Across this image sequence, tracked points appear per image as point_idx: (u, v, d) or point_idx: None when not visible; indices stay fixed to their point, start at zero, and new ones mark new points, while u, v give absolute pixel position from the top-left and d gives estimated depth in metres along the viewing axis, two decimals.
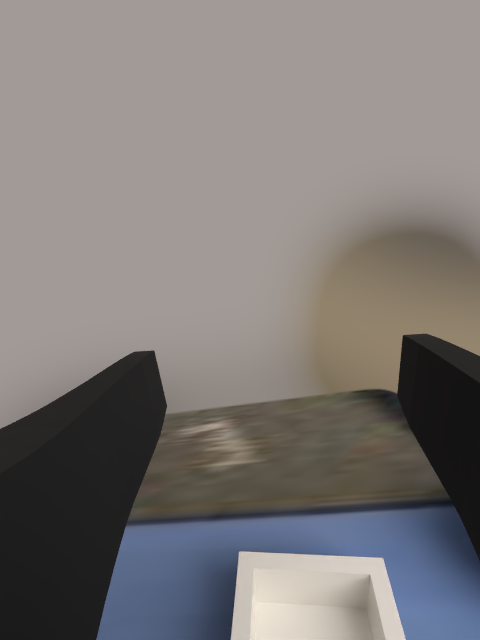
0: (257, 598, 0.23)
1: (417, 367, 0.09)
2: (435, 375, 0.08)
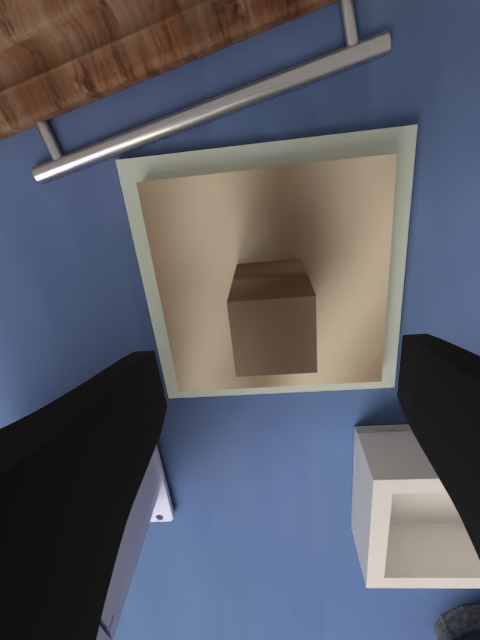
0: None
1: (417, 367, 0.09)
2: (435, 375, 0.08)
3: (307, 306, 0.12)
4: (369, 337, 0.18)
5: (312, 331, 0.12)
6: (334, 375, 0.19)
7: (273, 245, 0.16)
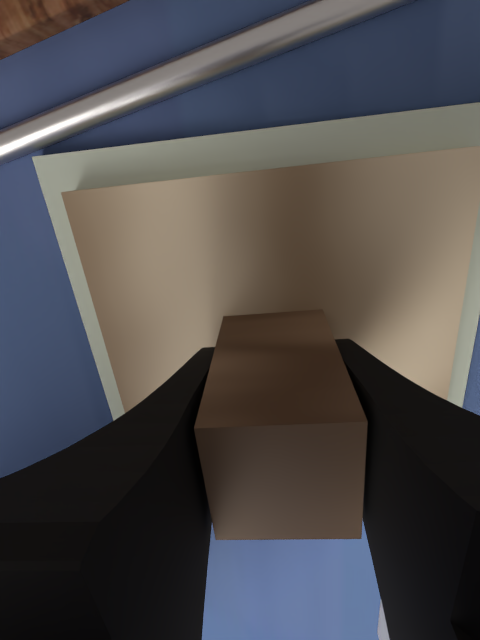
0: None
1: None
2: None
3: (349, 438, 0.06)
4: None
5: (356, 477, 0.06)
6: None
7: (279, 290, 0.10)
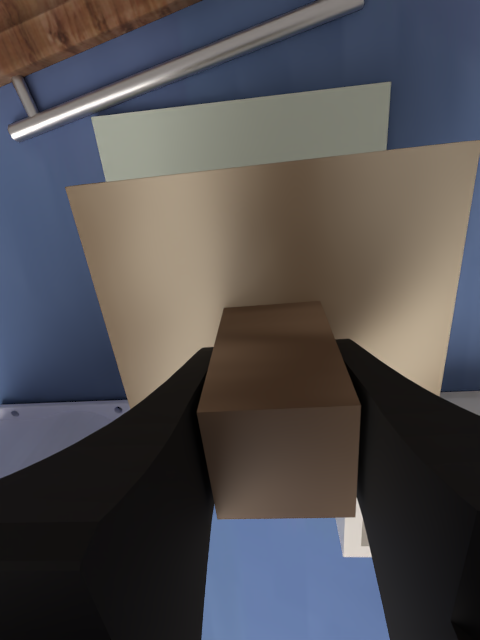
0: None
1: None
2: None
3: (343, 422, 0.06)
4: None
5: (350, 459, 0.07)
6: None
7: (278, 282, 0.11)
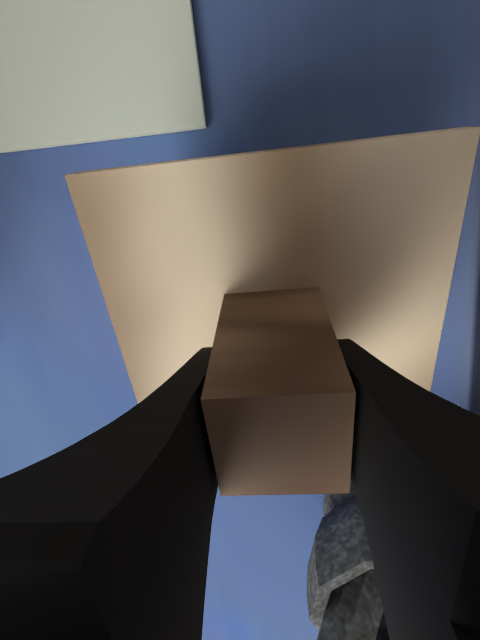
0: None
1: None
2: None
3: (339, 407, 0.07)
4: None
5: (345, 440, 0.07)
6: None
7: (277, 269, 0.11)
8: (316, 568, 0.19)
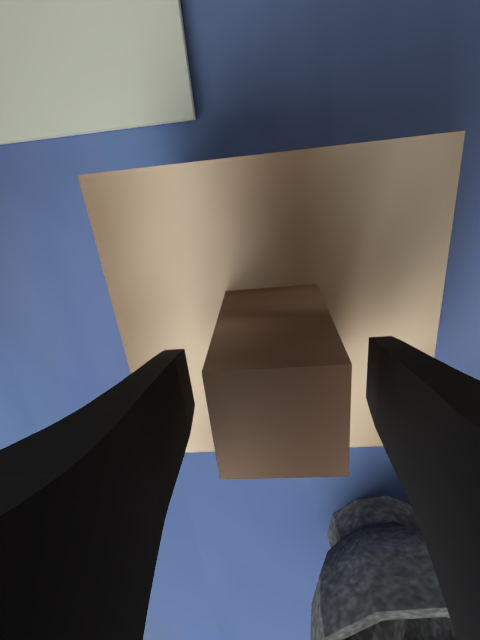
0: None
1: (380, 369, 0.09)
2: (394, 377, 0.08)
3: (336, 380, 0.07)
4: None
5: (343, 417, 0.07)
6: (359, 437, 0.14)
7: (277, 266, 0.11)
8: (321, 613, 0.17)
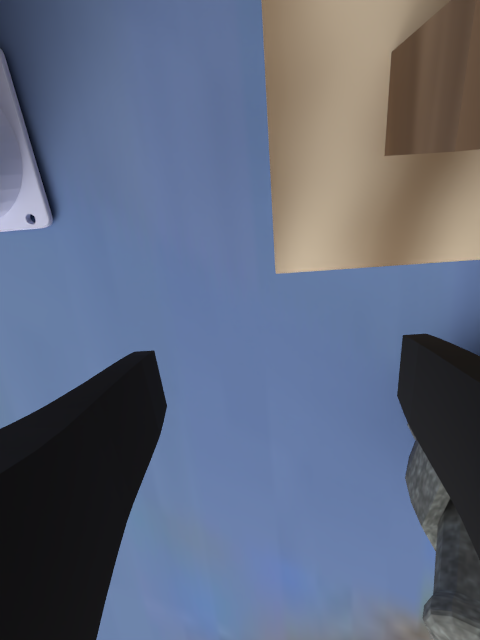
0: None
1: (417, 367, 0.09)
2: (435, 375, 0.08)
3: None
4: None
5: None
6: None
7: None
8: None
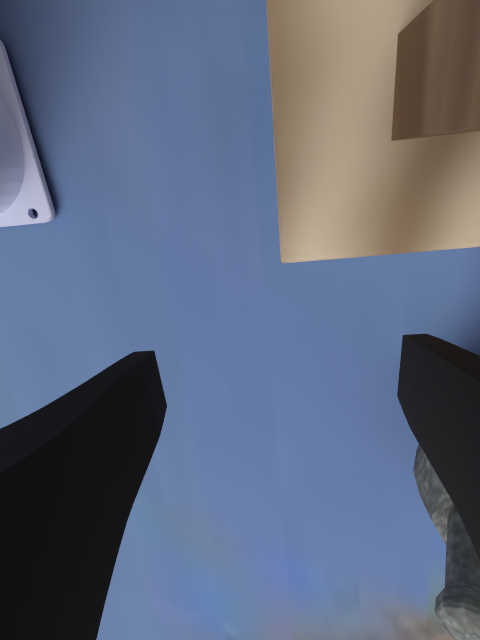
0: None
1: (417, 367, 0.09)
2: (435, 375, 0.08)
3: None
4: None
5: None
6: None
7: None
8: None
